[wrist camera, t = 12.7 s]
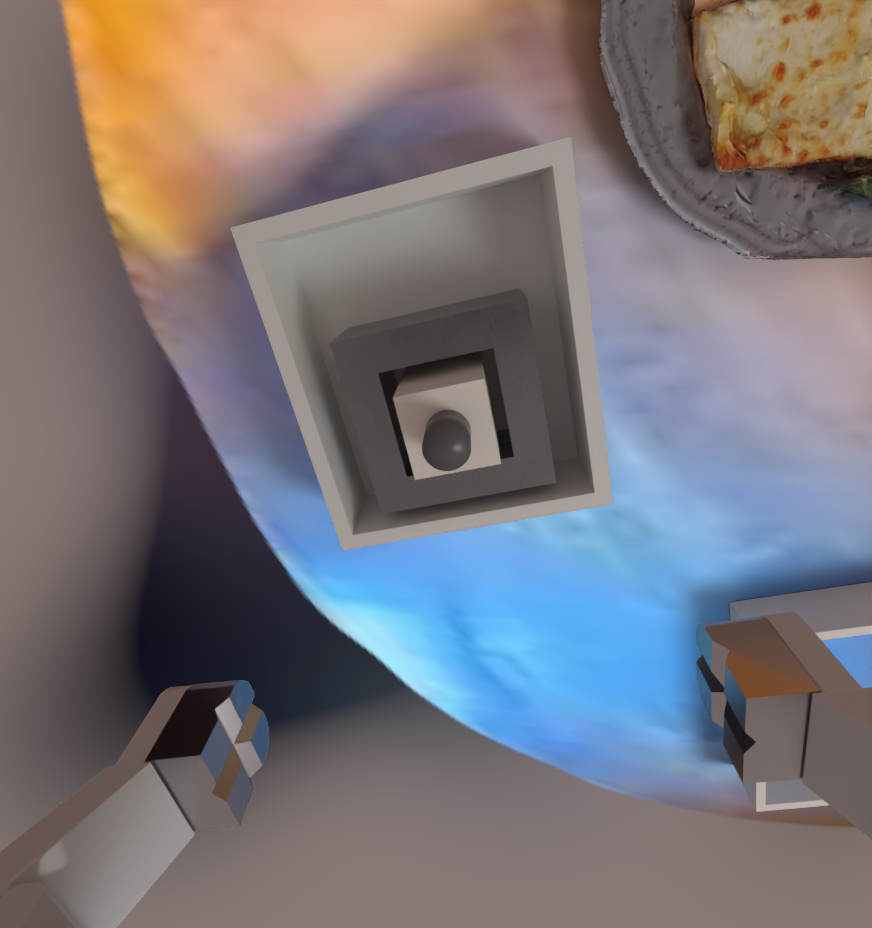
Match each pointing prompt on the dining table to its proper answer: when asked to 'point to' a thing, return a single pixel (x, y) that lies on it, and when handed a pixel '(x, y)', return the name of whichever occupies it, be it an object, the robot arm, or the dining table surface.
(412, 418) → the connector
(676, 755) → the dining table surface
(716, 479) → the dining table surface
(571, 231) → the walled box
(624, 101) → the food plate
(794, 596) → the open square frame
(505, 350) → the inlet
